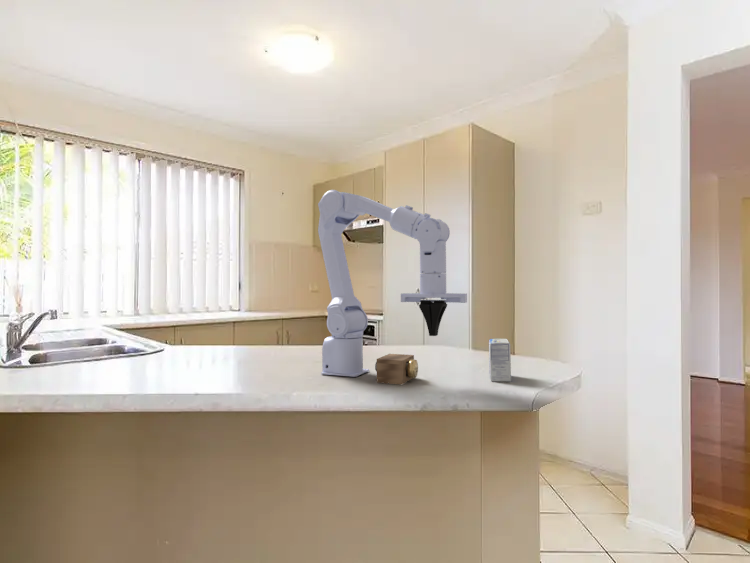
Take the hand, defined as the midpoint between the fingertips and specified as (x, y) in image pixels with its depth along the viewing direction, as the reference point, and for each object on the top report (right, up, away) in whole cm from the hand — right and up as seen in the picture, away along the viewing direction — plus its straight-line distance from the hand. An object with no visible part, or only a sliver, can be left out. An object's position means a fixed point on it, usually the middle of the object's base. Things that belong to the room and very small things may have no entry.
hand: (433, 335), depth 104 cm
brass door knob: (-8, -10, +3) cm, 13 cm away
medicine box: (+16, -11, +4) cm, 19 cm away
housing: (-8, -10, +3) cm, 14 cm away
